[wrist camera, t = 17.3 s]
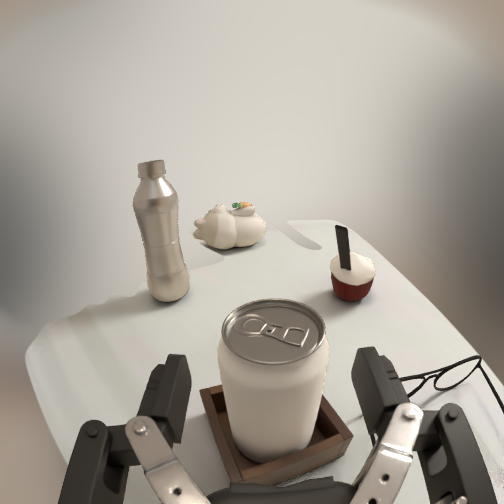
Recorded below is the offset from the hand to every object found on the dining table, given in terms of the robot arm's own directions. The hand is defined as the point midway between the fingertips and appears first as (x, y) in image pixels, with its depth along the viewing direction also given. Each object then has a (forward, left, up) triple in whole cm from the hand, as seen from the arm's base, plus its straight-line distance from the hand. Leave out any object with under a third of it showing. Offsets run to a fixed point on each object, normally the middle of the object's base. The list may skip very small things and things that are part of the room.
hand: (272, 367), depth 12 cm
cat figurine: (+10, +45, -13) cm, 48 cm away
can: (+1, +3, -12) cm, 12 cm away
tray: (+1, +3, -13) cm, 13 cm away
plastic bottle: (-4, +30, -13) cm, 33 cm away
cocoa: (+20, +19, -13) cm, 30 cm away
